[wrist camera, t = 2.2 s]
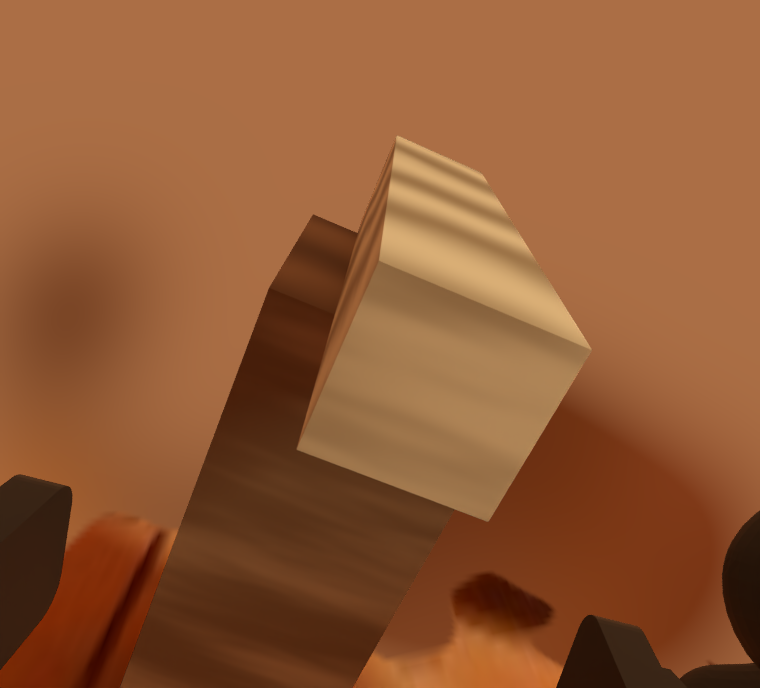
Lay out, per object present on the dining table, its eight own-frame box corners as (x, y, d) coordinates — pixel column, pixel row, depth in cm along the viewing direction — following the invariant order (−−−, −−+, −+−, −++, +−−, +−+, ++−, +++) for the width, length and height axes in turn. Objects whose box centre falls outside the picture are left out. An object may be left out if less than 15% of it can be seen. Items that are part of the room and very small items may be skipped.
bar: (361, 220, 38) (396, 135, 36) (442, 254, 39) (481, 172, 37) (296, 449, 16) (379, 260, 14) (488, 521, 16) (591, 350, 15)
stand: (151, 635, 47) (313, 214, 35) (286, 680, 48) (487, 288, 36) (72, 813, 36) (269, 287, 24) (250, 865, 37) (522, 390, 25)
